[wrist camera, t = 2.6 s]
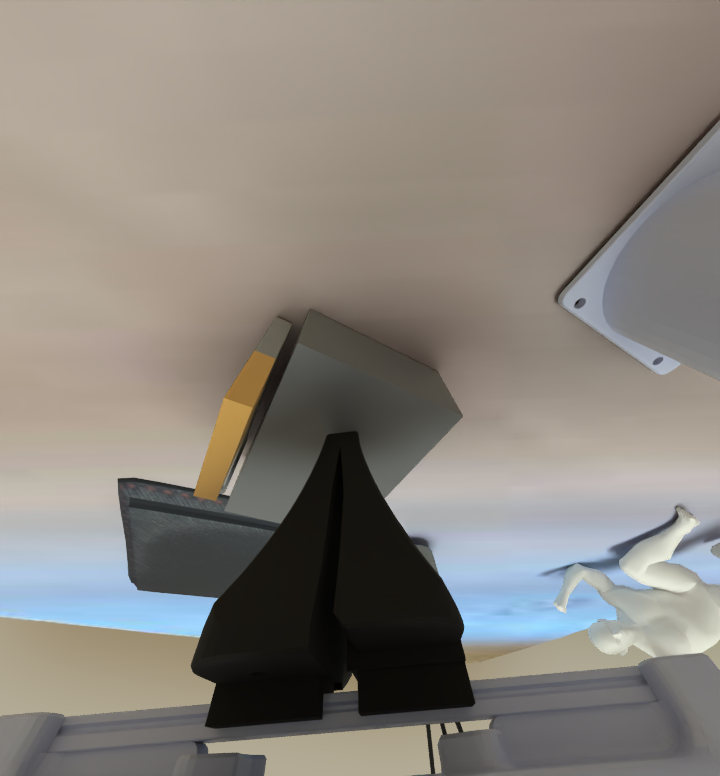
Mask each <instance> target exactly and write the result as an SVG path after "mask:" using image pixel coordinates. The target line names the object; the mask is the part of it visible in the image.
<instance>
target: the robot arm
mask: <svg viewBox="0 0 720 776" xmlns="http://www.w3.org/2000/svg"><path fill="white" fill-rule="evenodd" d="M579 299H580V301H579V303H578V304H577V305H575V303H576V301H577V300H579ZM558 304H559V305H560V306H561V307H563V308H564V309H566V310H567V311H568V312H570V313H571V314H573V315H574V316H575V317H577V318H578V319H580V320H581V321H582V322H584V323H585V324H587V325H588V326H589V327H591V328H592V329H594V330H595V331H596V332H598V333H599V334H601V335H602V336H604V337H605V338H606V339H608V340H609V341H611V342H612V343H613V344H615V345H616V346H618V347H619V348H620V349H622V350H623V351H625V352H626V353H627V354H629V355H630V356H632V357H633V358H635V359H636V360H637V361H639V362H640V363H642V364H643V365H644V366H646V367H647V368H649V369H650V370H651V371H653V372H655V373H657V374H659V375H664V374H667V373H669V372H671V371H672V370H673V369H675V368H676V367H677V366H679V365H680V364H681V363H682V364H684V365H686V366H688V367H691V368H693V369H695V370H697V371H699V372H702V373H704V374H706V375H708V376H710V377H712V378H715V379H717V380H719V381H720V120H719V121H718V122H717V123H716V125H715V126H714V127H713V128H712V129H711V130H710V131H709V132H708V133H707V134H706V135H705V137H704V138H703V139H702V140H701V141H700V142H699V143H698V144H697V145H696V146H695V147H694V149H693V150H692V151H691V152H690V153H689V154H688V155H687V156H686V157H685V158H684V159H683V161H682V162H681V163H680V164H679V165H678V166H677V167H676V168H675V169H674V170H673V171H672V172H671V174H670V175H669V176H668V177H667V178H666V179H665V180H664V181H663V182H662V183H661V184H660V186H659V187H658V188H657V189H656V190H655V191H654V192H653V193H652V194H651V195H650V196H649V198H648V199H647V200H646V201H645V202H644V203H643V204H642V205H641V206H640V207H639V208H638V210H637V211H636V212H635V213H634V214H633V215H632V216H631V217H630V218H629V219H628V220H627V222H626V223H625V224H624V225H623V226H622V227H621V228H620V229H619V230H618V231H617V232H616V234H615V235H614V236H613V237H612V238H611V239H610V240H609V241H608V242H607V243H606V244H605V245H604V247H603V248H602V249H601V250H600V251H599V252H598V253H597V254H596V255H595V256H594V257H593V259H592V260H591V261H590V262H589V263H588V264H587V265H586V266H585V267H584V268H583V269H582V271H581V272H580V273H579V274H578V275H577V276H576V277H575V278H574V279H573V280H572V281H571V283H570V284H569V285H568V286H567V287H566V288H565V289H564V290H563V291H562V293H561V294H560V295H559V298H558ZM574 305H575V306H574ZM463 631H464V623H463V620H462V618H461V615H460V613H459V610H458V608H457V606H456V604H455V602H454V600H453V598H452V596H451V594H450V593H449V591H448V589H447V587H446V586H445V584H444V582H443V580H442V578H441V577H440V576H439V574H438V573H437V572H436V571H435V570H434V568H433V567H432V566H431V565H430V563H429V562H428V561H427V560H426V558H425V557H424V556H423V555H422V553H421V552H420V551H419V549H418V548H417V547H416V545H415V544H414V543H413V541H412V540H411V539H410V537H409V536H408V534H407V533H406V532H405V530H404V529H403V527H402V526H401V524H400V523H399V521H398V520H397V519H396V517H395V515H394V514H393V512H392V511H391V509H390V507H389V506H388V504H387V502H386V501H385V499H384V497H383V496H382V494H381V492H380V490H379V488H378V486H377V484H376V482H375V480H374V478H373V476H372V474H371V472H370V470H369V468H368V465H367V463H366V460H365V458H364V455H363V452H362V449H361V446H360V440H359V434H358V432H356V431H350V432H342V433H333V434H328V435H327V436H326V439H325V442H324V444H323V447H322V450H321V452H320V454H319V457H318V459H317V461H316V463H315V465H314V468H313V470H312V472H311V474H310V476H309V478H308V480H307V481H306V483H305V485H304V487H303V489H302V491H301V492H300V494H299V496H298V498H297V499H296V501H295V503H294V504H293V506H292V507H291V509H290V511H289V512H288V514H287V515H286V517H285V518H284V520H283V521H282V522H281V524H280V525H279V527H278V528H277V529H276V531H275V532H274V534H273V535H272V536H271V538H270V539H269V540H268V542H267V543H266V544H265V545H264V547H263V548H262V549H261V550H260V552H259V553H258V554H257V555H256V557H255V558H254V559H253V560H252V561H251V563H250V564H249V565H248V566H247V568H246V569H245V570H244V571H243V572H242V573H241V574H240V575H239V577H238V578H237V579H236V580H235V581H234V582H233V583H232V584H231V585H230V586H229V588H228V589H227V590H226V591H225V592H224V593H223V594H222V595H221V596H220V597H219V598H218V599H217V601H216V602H215V603H214V605H213V607H212V609H211V612H210V614H209V616H208V618H207V621H206V623H205V625H204V628H203V631H202V634H201V637H200V640H199V643H198V646H197V648H196V651H195V654H194V657H193V660H192V663H191V668H192V671H193V673H195V674H196V675H198V676H200V677H202V678H205V679H207V680H209V681H211V682H214V683H216V687H215V690H214V694H213V698H212V701H211V704H204V705H192V706H183V707H182V706H181V707H170V708H160V709H148V710H136V711H125V712H114V713H103V714H91V715H80V716H70V717H64V715H62V714H57V713H44V712H41V713H25V714H14V715H3V716H0V776H264V772H265V765H266V758H265V756H264V755H247V754H240V753H217V754H208V748H207V746H206V744H203V743H214V742H226V741H238V740H250V739H262V738H273V737H285V736H297V735H309V734H321V733H333V732H345V731H356V730H368V729H380V728H392V727H404V726H415V725H428V724H439V723H450V722H451V723H452V722H463V721H475V720H487V719H493V720H492V721H491V723H490V725H489V729H487V730H476V731H468V732H461V733H454V734H447V735H441V737H440V739H439V742H438V750H439V755H440V761H441V771H442V773H440V774H426V775H413V776H720V670H719V669H718V668H717V667H716V665H715V664H714V663H713V662H712V660H711V659H710V658H709V657H708V656H707V655H705V654H703V653H695V654H683V655H672V656H662V657H655V658H651V659H647V660H644V661H642V662H641V663H639V665H638V666H633V667H632V666H631V667H620V668H609V669H598V670H587V671H575V672H564V673H553V674H542V675H530V676H520V677H508V678H497V679H486V680H475V681H470V680H469V676H468V673H467V669H466V665H465V661H466V659H465V654H464V650H463V647H462V643H461V637H462V634H463ZM352 673H353V675H354V676H355V678H356V679H357V681H358V691H350V692H340V693H334V691H336V690H343V688H344V687H345V686H346V684H347V683H348V681H349V679H350V677H351V676H352Z"/></svg>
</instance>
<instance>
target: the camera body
mask: <svg viewBox="0 0 720 776" xmlns="http://www.w3.org/2000/svg"><path fill="white" fill-rule="evenodd" d="M462 417H463V415H462V413H461V412H460V410H459V408H458V406H457V404H456V403H455V401H454V399H453V397H452V396H451V394H450V392H449V390H448V389H447V387H446V385H445V383H444V382H443V380H442V378H441V376H440V374H439V373H438V372H437V371H435V370H433V369H431V368H429V367H427V366H425V365H423V364H421V363H419V362H417V361H415V360H413V359H411V358H409V357H407V356H405V355H403V354H401V353H399V352H397V351H395V350H393V349H391V348H388V347H386V346H384V345H382V344H380V343H378V342H376V341H374V340H372V339H370V338H368V337H366V336H364V335H362V334H360V333H358V332H356V331H354V330H352V329H350V328H348V327H346V326H344V325H342V324H340V323H338V322H336V321H334V320H331V319H329V318H327V317H325V316H323V315H321V314H319V313H317V312H315V311H313V310H311V309H310V310H309V312H308V315H307V317H306V319H305V322H304V324H303V326H302V329H301V331H300V333H299V336H298V338H297V340H296V342H295V345H294V347H293V349H292V352H291V354H290V356H289V359H288V361H287V363H286V366H285V368H284V370H283V373H282V375H281V377H280V379H279V382H278V384H277V386H276V389H275V391H274V393H273V396H272V398H271V400H270V403H269V405H268V407H267V409H266V412H265V414H264V416H263V419H262V421H261V423H260V426H259V428H258V430H257V433H256V435H255V437H254V439H253V442H252V444H251V446H250V449H249V451H248V453H247V456H246V458H245V460H244V463H243V465H242V468H241V470H240V473H239V475H238V478H237V480H236V483H235V485H234V488H233V490H232V493H231V495H230V497H229V500H228V502H227V505H226V507H225V510H224V511H226V512H230V513H235V514H239V515H244V516H248V517H253V518H257V519H262V520H266V521H271V522H275V523H280V524H281V522H282V521H283V520H284V518H285V517H286V515H287V514H288V512H289V511H290V509H291V507H292V506H293V504H294V503H295V501H296V499H297V498H298V496H299V494H300V492H301V491H302V489H303V487H304V485H305V483H306V481H307V480H308V478H309V476H310V474H311V472H312V470H313V468H314V465H315V463H316V461H317V459H318V457H319V454H320V452H321V450H322V447H323V444H324V442H325V439H326V436H327V435H328V434H333V433H342V432H350V431H356V432H358V434H359V440H360V446H361V449H362V452H363V455H364V458H365V460H366V463H367V465H368V468H369V470H370V472H371V474H372V476H373V478H374V480H375V482H376V484H377V486H378V488H379V490H380V492H381V494H382V496H383V497H384V498H385V497H386V496H387V495H388V494H389V493H390V492H391V491H392V490H393V489H394V488H395V487H396V486H397V485H398V484H399V483H400V482H401V481H402V480H403V478H404V477H405V476H406V475H407V474H408V473H409V472H410V471H411V470H412V469H413V468H414V467H415V466H416V465H417V464H418V463H419V462H420V461H421V460H422V459H423V458H424V457H425V456H426V454H427V453H428V452H429V451H430V450H431V449H432V448H433V447H434V446H435V445H436V444H437V443H438V442H439V441H440V440H441V439H442V438H443V437H444V436H445V435H446V434H447V433H448V432H449V430H450V429H451V428H452V427H453V426H454V425H455V424H456V423H457V422H458V421H459V420H460V419H461V418H462Z"/></svg>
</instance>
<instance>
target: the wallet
mask: <svg viewBox="0 0 720 776" xmlns="http://www.w3.org/2000/svg"><path fill="white" fill-rule="evenodd" d="M194 492H195V489H192V488H186V487H181V486H176V485H171V484H166V483H161V482H155V481H149V480H144V479H138V478H121V479H118V494H119V502H120V509H121V515H122V521H123V527H124V533H125V539H126V549H127V560H128V575H129V578H130V580H131V583H134V584H135V586H136V587H137V590H142V591H150V592H160V593H171V594H182V595H192V596H203V597H214V598H219V597H220V596H221V595H222V594H223V593H224V592H225V591H226V590H227V589H228V588H229V586H230V585H231V584H232V583H233V582H234V581H235V580H236V579H237V578H238V577H239V575H240V574H241V573H242V572H243V571H244V570H245V569H246V568H247V566H248V565H249V564H250V563H251V561H252V560H253V559H254V558H255V557H256V555H257V554H258V553H259V552H260V550H261V549H262V548H263V547H264V545H265V544H266V543H267V542H268V540H269V539H270V538H271V536H272V535H273V534H274V532H275V531H276V529H277V528H278V527H279V525H280V523H275V522H271V521H266V520H262V519H257V518H253V517H248V516H244V515H239V514H235V513H230V512H226V511H224V510H225V507H226V505H227V502H228V500H229V497H230V496H227V495H222V494H219V495H218V497H217V500H216V501H213V500H209V499H205V498H200V497H196V496H193V495H194Z"/></svg>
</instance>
